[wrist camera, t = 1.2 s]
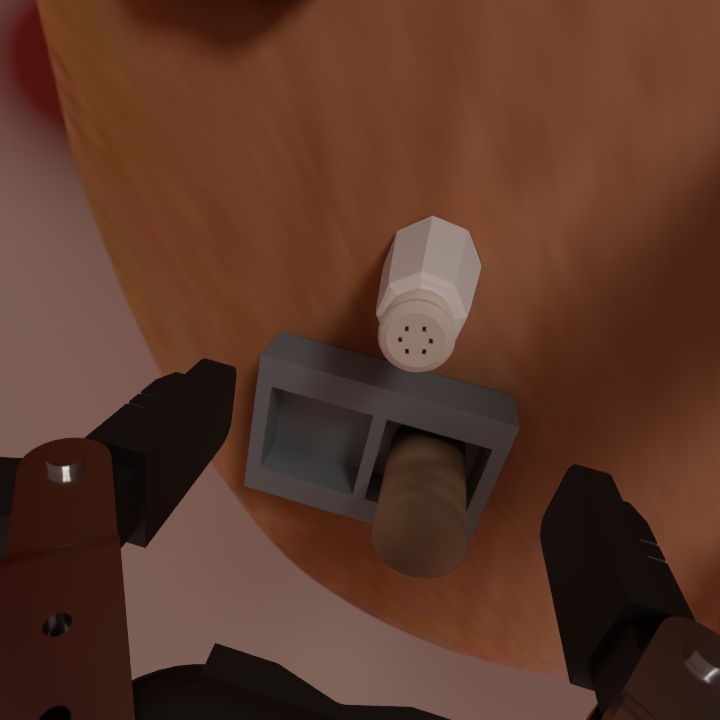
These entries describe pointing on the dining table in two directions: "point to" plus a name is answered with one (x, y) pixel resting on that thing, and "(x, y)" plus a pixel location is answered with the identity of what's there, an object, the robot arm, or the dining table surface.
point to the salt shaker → (426, 293)
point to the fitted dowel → (422, 504)
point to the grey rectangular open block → (363, 426)
